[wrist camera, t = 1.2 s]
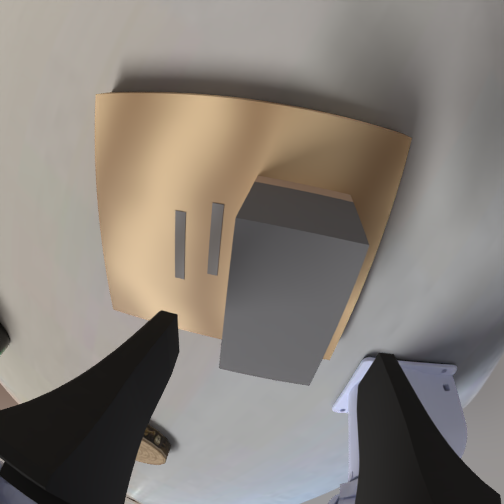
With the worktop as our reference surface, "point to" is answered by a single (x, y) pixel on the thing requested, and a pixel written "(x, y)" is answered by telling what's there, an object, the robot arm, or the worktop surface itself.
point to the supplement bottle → (3, 339)
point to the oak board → (219, 190)
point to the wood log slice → (153, 447)
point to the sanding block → (289, 278)
